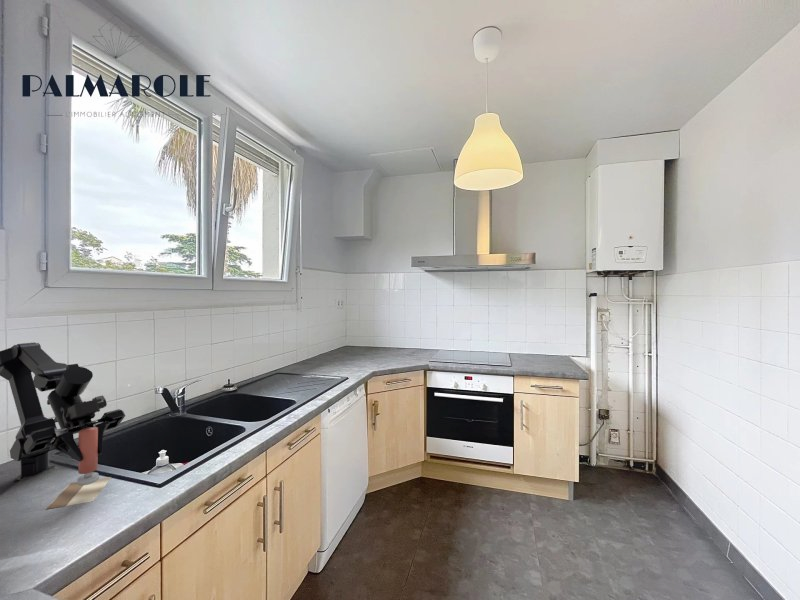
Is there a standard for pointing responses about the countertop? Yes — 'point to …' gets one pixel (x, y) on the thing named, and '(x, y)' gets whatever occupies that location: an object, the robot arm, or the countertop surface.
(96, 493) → the board
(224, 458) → the countertop surface
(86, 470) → the pink cylinder white base
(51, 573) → the countertop surface
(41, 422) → the robot arm
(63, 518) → the countertop surface
